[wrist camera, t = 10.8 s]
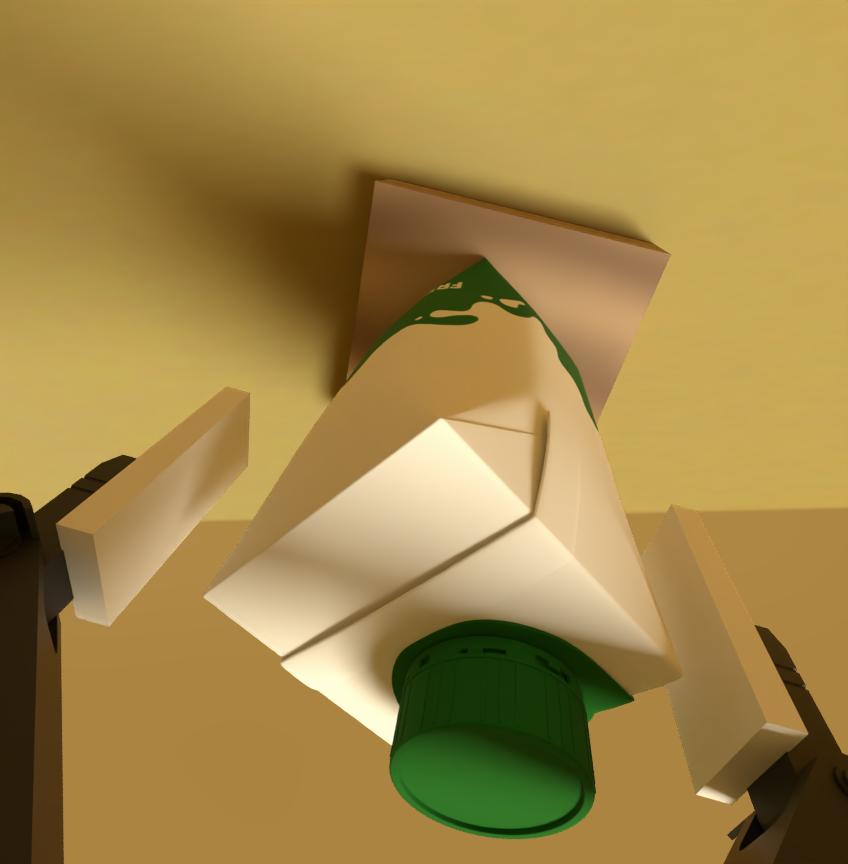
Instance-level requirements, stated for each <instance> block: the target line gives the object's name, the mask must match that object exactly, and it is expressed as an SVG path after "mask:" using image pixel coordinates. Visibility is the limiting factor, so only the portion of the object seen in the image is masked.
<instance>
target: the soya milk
mask: <svg viewBox="0 0 848 864" xmlns="http://www.w3.org/2000/svg"><path fill="white" fill-rule="evenodd" d="M203 597H204V598H205V599H206V600H208V601H209V602H210V603H212V604H213V605H214V606H215V607H217V608H218V609H219V610H220V611H222V612H223V613H224V614H226V615H227V616H228V617H230V618H231V619H232V620H234V621H235V622H236V623H238V624H239V625H240V626H241V627H243V628H244V629H245V630H247V631H248V632H249V633H251V634H252V635H253V636H255V637H256V638H257V639H259V640H260V641H261V642H263V643H264V644H265V645H266V646H268V647H269V648H270V649H272V650H273V651H275V652H276V653H277V654H278V655H280V656H281V660H280V664H281V665H282V666H283V667H284V668H285V669H286V670H287V671H288V672H290V673H291V674H292V675H293V676H294V677H296V678H297V679H298V680H300V681H301V682H303V683H304V684H305V685H307V686H308V687H310V688H312V689H314V690H318V691H319V692H321V693H322V694H323V695H325V696H326V697H327V698H329V699H330V700H331V701H333V702H334V703H335V704H337V705H338V706H339V707H341V708H342V709H343V710H345V711H346V712H348V713H349V714H350V715H351V716H353V717H354V718H355V719H357V720H358V721H360V722H361V723H362V724H363V725H365V726H366V727H367V728H369V729H370V730H371V731H373V732H374V733H375V734H377V735H378V736H380V737H381V738H382V739H384V740H385V741H386V742H388V743H389V744H390V745H392V748H391V753H390V757H391V758H390V766H389V767H390V775H391V779H392V782H393V784H394V786H395V787H396V789H397V791H398V792H399V793H400V795H401V796H402V797H403V798H404V799H405V800H406V801H407V802H408V803H409V804H410V805H411V806H412V807H414V808H415V809H416V810H418V811H419V812H420V813H422V814H424V815H425V816H427V817H429V818H431V819H432V820H435V821H436V822H439V823H441V824H443V825H446V826H448V827H451V828H454V829H456V830H460V831H463V832H467V833H470V834H475V835H479V836H485V837H492V838H502V839H527V838H537V837H543V836H548V835H552V834H555V833H559V832H561V831H564V830H566V829H568V828H570V827H572V826H574V825H576V824H577V823H578V822H580V821H581V820H582V819H583V818H584V817H585V816H586V815H587V814H588V812H589V811H590V809H591V808H592V805H593V802H594V798H595V793H596V789H595V778H594V770H593V762H592V754H591V746H590V738H589V730H588V722H589V721H590V720H591V719H592V717H593V715H594V714H595V713H597V712H600V711H603V710H607V709H611V708H615V707H618V706H621V705H624V704H627V703H630V702H632V701H634V698H633V696H632V695H634V694H637V693H640V692H644V691H647V690H650V689H654V688H657V687H661V686H663V685H666V684H669V683H671V682H674V681H676V680H678V679H680V678H682V676H683V670H682V668H681V666H680V663H679V661H678V659H677V656H676V653H675V651H674V648H673V645H672V643H671V640H670V637H669V634H668V632H667V629H666V626H665V623H664V621H663V618H662V615H661V613H660V610H659V607H658V604H657V602H656V599H655V596H654V594H653V591H652V588H651V585H650V583H649V580H648V577H647V574H646V572H645V569H644V566H643V563H642V561H641V558H640V555H639V552H638V550H637V547H636V544H635V541H634V539H633V536H632V533H631V530H630V528H629V525H628V522H627V519H626V516H625V513H624V511H623V508H622V505H621V502H620V499H619V495H618V492H617V489H616V486H615V482H614V479H613V476H612V472H611V469H610V466H609V463H608V460H607V457H606V453H605V450H604V447H603V444H602V441H601V438H600V434H599V431H598V428H597V425H596V422H595V419H594V416H593V412H592V409H591V406H590V403H589V400H588V397H587V394H586V390H585V387H584V384H583V381H582V378H581V375H580V372H579V370H578V368H577V366H576V365H575V363H574V361H573V360H572V359H571V357H570V356H569V355H568V353H567V352H566V350H565V349H564V348H563V346H562V345H561V344H560V342H559V341H558V340H557V338H556V337H555V336H554V335H553V333H552V332H551V331H550V329H549V328H548V327H547V326H546V324H545V323H544V322H543V320H542V319H541V318H540V317H539V316H538V314H537V313H536V312H535V311H534V309H533V308H532V307H531V306H530V305H529V304H528V303H527V302H526V301H525V300H524V299H523V297H522V296H521V295H520V294H519V293H518V292H517V291H516V290H515V289H514V288H513V287H512V286H511V285H510V284H509V282H508V281H507V280H506V279H505V278H504V277H503V276H502V275H501V274H500V273H499V272H498V271H497V270H496V269H495V268H494V267H493V266H492V264H491V263H490V262H489V261H488V260H487V259H486V257H484V258H483V259H481V260H480V261H478V262H477V263H475V264H473V265H472V266H470V267H469V268H467V269H465V270H464V271H462V272H461V273H459V274H458V275H456V276H454V277H453V278H451V279H450V280H448V281H446V282H445V283H443V284H442V285H440V286H439V287H437V288H436V289H434V290H433V291H431V292H430V293H428V294H427V295H425V296H424V297H423V298H422V299H421V300H420V301H419V302H417V303H416V304H415V305H414V306H413V307H412V308H411V309H410V310H408V311H407V312H406V313H405V314H404V315H403V316H401V317H400V318H399V319H398V320H397V321H396V322H395V323H393V324H392V325H391V326H390V327H389V328H388V329H387V330H386V331H385V332H384V333H383V334H382V335H381V336H380V337H379V338H378V339H377V340H376V341H375V342H374V344H373V345H372V346H371V348H370V349H369V350H368V352H367V353H366V354H365V356H364V357H363V359H362V360H361V361H360V363H359V364H358V365H357V367H356V368H355V370H354V371H353V372H352V374H351V375H350V377H349V378H348V379H347V381H346V382H345V383H344V385H343V386H342V388H341V389H340V390H339V392H338V393H337V395H336V396H335V397H334V399H333V400H332V402H331V403H330V404H329V406H328V407H327V408H326V410H325V411H324V413H323V414H322V415H321V417H320V418H319V420H318V421H317V422H316V424H315V425H314V427H313V428H312V429H311V431H310V432H309V434H308V435H307V436H306V438H305V439H304V441H303V442H302V444H301V446H300V447H299V449H298V450H297V452H296V453H295V455H294V456H293V458H292V459H291V461H290V463H289V464H288V466H287V467H286V469H285V470H284V472H283V474H282V475H281V477H280V478H279V480H278V481H277V483H276V484H275V486H274V488H273V489H272V491H271V492H270V494H269V495H268V497H267V498H266V500H265V502H264V503H263V505H262V506H261V508H260V509H259V511H258V513H257V514H256V516H255V517H254V519H253V520H252V522H251V523H250V525H249V526H248V528H247V529H246V531H245V532H244V534H243V535H242V537H241V539H240V540H239V542H238V543H237V544H236V546H235V548H234V549H233V550H232V552H231V554H230V555H229V557H228V558H227V560H226V561H225V563H224V564H223V566H222V567H221V569H220V570H219V572H218V573H217V575H216V576H215V578H214V579H213V581H212V582H211V584H210V586H209V587H208V588H207V589H206V591H205V592H204V594H203Z"/></svg>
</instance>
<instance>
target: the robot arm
mask: <svg viewBox="0 0 848 864" xmlns="http://www.w3.org/2000/svg"><path fill="white" fill-rule="evenodd" d="M249 414H250V393H248V392H244V391H241V390H237V389H233V388H229V387H225V388H224V389H223V390H222V391H221V392H219V393H218V394H217V395H216V396H214V397H213V398H212V399H211V400H209V401H208V402H207V403H206V404H204V405H203V406H202V407H201V408H199V409H198V410H197V411H196V412H194V413H193V414H192V415H191V416H189V417H188V418H187V419H186V420H184V421H183V422H182V423H181V424H179V425H178V426H177V427H176V428H174V429H173V430H172V431H171V432H170V433H168V434H167V435H166V436H165V437H163V438H162V439H161V440H160V441H158V442H157V443H156V444H155V445H153V446H152V447H151V448H150V449H148V450H147V451H146V452H145V453H143V454H142V455H141V456H140V457H138V458H133V457H129V456H126V455H121V456H118V457H116V458H113V459H111V460H108V461H106V462H103V463H101V464H100V465H98V466H97V467H96V468H94V469H93V470H92V471H90V472H89V473H88V474H86V475H85V477H84V478H81V479H79V480H78V481H77V482H75V483H74V484H73V485H72V486H71V488H67V489H66V490H65V491H63V492H62V493H61V494H59V495H58V496H57V497H55V498H54V499H53V500H51V501H50V502H49V503H47V504H46V505H45V506H43V507H42V508H41V509H39V510H38V511H37V512H35V513H34V512H33V508H32V505H31V503H30V500H28V499H27V498H25V497H23V496H22V495H18V494H13V493H0V864H64V852H63V851H64V850H63V778H62V777H63V774H62V773H63V771H62V697H61V696H62V694H61V693H62V692H61V622H60V618H59V613H60V612H61V611H62V610H63V609H64V608H65V607H66V606H67V605H68V604H69V603H70V602H71V600H73V605H74V609H75V614H76V617H77V618H80V619H84V620H88V621H91V622H94V623H98V624H101V625H105V626H110V625H111V623H113V621H114V620H115V619H116V618H117V617H118V615H119V614H120V613H121V612H122V611H123V610H124V608H125V607H126V606H127V605H128V604H129V603H130V602H131V600H132V599H133V598H134V597H135V596H136V595H137V593H138V592H139V591H140V590H141V589H142V588H143V587H144V585H145V584H146V583H147V582H148V581H149V580H150V578H151V577H152V576H153V575H154V574H155V573H156V571H157V570H158V569H159V568H160V567H161V566H162V564H163V563H164V562H165V561H166V560H167V559H168V557H169V556H170V555H171V554H172V553H173V552H174V550H175V549H176V548H177V547H178V546H179V545H180V544H181V542H182V541H183V540H184V539H185V538H186V537H187V536H188V534H189V533H190V532H191V531H192V530H193V529H194V527H195V526H196V525H197V524H198V523H199V522H200V520H201V519H202V518H203V517H204V516H205V515H206V514H207V512H208V511H209V510H210V509H211V508H212V507H213V505H214V504H215V503H216V502H217V501H218V500H219V498H220V497H221V496H222V495H223V494H224V493H225V491H226V490H227V489H228V488H229V487H230V486H231V485H232V483H233V482H234V481H235V480H236V479H237V478H238V476H239V475H240V474H241V473H242V472H243V471H244V469H245V468H246V467H247V466H248V445H249ZM641 561H642V563H643V566H644V569H645V572H646V574H647V577H648V580H649V583H650V585H651V588H652V591H653V594H654V596H655V599H656V602H657V604H658V607H659V610H660V613H661V615H662V618H663V621H664V623H665V626H666V629H667V632H668V634H669V637H670V640H671V643H672V645H673V648H674V651H675V653H676V656H677V659H678V661H679V663H680V666H681V668H682V670H683V676H682V678H680V679H678V680H676V681H674V682H671V683H669V684H666V688H667V692H668V695H669V699H670V703H671V706H672V710H673V714H674V717H675V721H676V724H677V728H678V731H679V735H680V739H681V742H682V746H683V750H684V753H685V757H686V760H687V764H688V767H689V771H690V775H691V778H692V782H693V785H694V789H695V793H696V795H700V796H703V797H707V798H710V799H714V800H717V801H721V802H724V803H728V804H731V805H732V804H733V803H734V802H735V801H737V800H738V799H739V798H740V797H741V796H742V795H743V794H744V793H745V792H746V791H747V790H748V793H749V795H750V798H751V801H752V804H753V806H754V809H755V811H754V812H753V813H752V814H750V815H749V816H748V817H747V818H746V819H745V820H744V821H743V822H741V823H740V824H739V825H738V826H737V827H736V828H734V829H733V830H732V831H731V832H730V833H729V834H728V836H729V837H730V838H731V839H732V840H733V839H735V838H736V837H737V838H736V840H735V842H734V844H733V846H732V848H731V850H730V852H729V854H728V856H727V858H726V860H725V862H724V864H848V755H845V754H843V753H842V752H841V750H840V748H839V746H838V745H837V743H836V741H835V739H834V737H833V735H832V733H831V732H830V730H829V728H828V726H827V724H826V722H825V721H824V719H823V717H822V715H821V713H820V711H819V709H818V707H817V706H816V704H815V702H814V700H813V698H812V697H811V694H810V693H809V691H808V690H806V689H805V687H806V685H805V683H804V682H803V680H802V678H801V676H800V674H799V673H797V672H796V670H797V669H796V667H795V665H794V663H793V661H792V659H791V658H790V656H789V654H788V652H787V650H786V648H785V647H784V646H783V645H782V644H781V643H780V642H779V641H778V640H777V639H776V637H775V636H774V635H773V634H772V633H771V632H770V631H769V629H767V628H763V627H760V626H756V625H754V624H753V622H752V620H751V618H750V616H749V614H748V612H747V610H746V608H745V606H744V604H743V602H742V600H741V598H740V596H739V594H738V592H737V590H736V588H735V586H734V584H733V582H732V580H731V578H730V576H729V574H728V572H727V570H726V568H725V566H724V564H723V562H722V560H721V558H720V556H719V554H718V552H717V550H716V548H715V546H714V544H713V542H712V540H711V538H710V536H709V534H708V532H707V530H706V528H705V526H704V524H703V522H702V520H701V518H700V516H699V514H698V512H697V511H695V510H691V509H688V508H684V507H680V506H676V505H672V504H671V506H670V508H669V510H668V511H667V513H666V515H665V516H664V518H663V520H662V522H661V524H660V525H659V527H658V529H657V530H656V532H655V534H654V536H653V537H652V539H651V541H650V542H649V544H648V546H647V547H646V549H645V551H644V552H643V554H642V556H641Z"/></svg>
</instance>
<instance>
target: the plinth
mask: <svg viewBox="0 0 848 864" xmlns="http://www.w3.org/2000/svg"><path fill="white" fill-rule="evenodd" d="M670 255H671V254H669V253H668V252H666V251H664V250H663V249H661V248H660V247H658V246H656V245H655V244H652V243H648V242H644V241H640V240H636V239H632V238H628V237H624V236H620V235H616V234H612V233H608V232H604V231H600V230H596V229H592V228H588V227H584V226H580V225H576V224H572V223H568V222H563V221H559V220H555V219H551V218H547V217H543V216H539V215H535V214H531V213H527V212H523V211H519V210H515V209H511V208H507V207H503V206H499V205H495V204H491V203H487V202H483V201H479V200H475V199H471V198H467V197H463V196H459V195H455V194H451V193H447V192H443V191H439V190H435V189H431V188H427V187H423V186H419V185H414V184H410V183H406V182H402V181H398V180H394V179H386V180H378V181H375V186H374V193H373V200H372V206H371V213H370V220H369V227H368V234H367V241H366V248H365V255H364V261H363V268H362V275H361V282H360V289H359V296H358V303H357V310H356V317H355V323H354V330H353V337H352V344H351V351H350V358H349V365H348V372H347V379H348V378H349V377H350V375H351V374H352V372H353V371H354V370H355V368H356V367H357V365H358V364H359V363H360V361H361V360H362V359H363V357H364V356H365V354H366V353H367V352H368V350H369V349H370V348H371V346H372V345H373V344H374V342H375V341H376V340H377V339H378V338H379V337H380V336H381V335H382V334H383V333H384V332H385V331H386V330H387V329H388V328H389V327H390V326H391V325H392V324H393V323H395V322H396V321H397V320H398V319H399V318H400V317H401V316H403V315H404V314H405V313H406V312H407V311H408V310H410V309H411V308H412V307H413V306H414V305H415V304H416V303H417V302H419V301H420V300H421V299H422V298H423V297H424V296H425V295H427V294H428V293H430V292H431V291H433V290H434V289H436V288H437V287H439V286H440V285H442V284H443V283H445V282H446V281H448V280H450V279H451V278H453V277H454V276H456V275H458V274H459V273H461V272H462V271H464V270H465V269H467V268H469V267H470V266H472V265H473V264H475V263H477V262H478V261H480V260H481V259H483V258H484V257H486V259H487V260H488V261H489V262H490V263H491V264H492V266H493V267H494V268H495V269H496V270H497V271H498V272H499V273H500V274H501V275H502V276H503V277H504V278H505V279H506V280H507V281H508V282H509V284H510V285H511V286H512V287H513V288H514V289H515V290H516V291H517V292H518V293H519V294H520V295H521V296H522V297H523V299H524V300H525V301H526V302H527V303H528V304H529V305H530V306H531V307H532V308H533V309H534V311H535V312H536V313H537V314H538V316H539V317H540V318H541V319H542V320H543V322H544V323H545V324H546V326H547V327H548V328H549V329H550V331H551V332H552V333H553V335H554V336H555V337H556V338H557V340H558V341H559V342H560V344H561V345H562V346H563V348H564V349H565V350H566V352H567V353H568V355H569V356H570V357H571V359H572V360H573V361H574V363H575V365H576V366H577V368H578V370H579V372H580V375H581V378H582V381H583V384H584V387H585V390H586V394H587V397H588V400H589V403H590V406H591V409H592V412H593V416H594V419H595V422H596V424H597V422H598V419H599V417H600V415H601V413H602V410H603V408H604V406H605V403H606V401H607V399H608V397H609V394H610V392H611V390H612V387H613V385H614V383H615V381H616V378H617V376H618V374H619V372H620V369H621V367H622V365H623V362H624V360H625V358H626V356H627V353H628V351H629V349H630V346H631V344H632V342H633V340H634V337H635V335H636V333H637V330H638V328H639V326H640V324H641V321H642V319H643V317H644V314H645V312H646V310H647V308H648V305H649V303H650V301H651V299H652V296H653V294H654V292H655V289H656V287H657V285H658V283H659V280H660V278H661V276H662V273H663V271H664V269H665V267H666V264H667V262H668V260H669V257H670ZM347 379H346V381H347Z"/></svg>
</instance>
